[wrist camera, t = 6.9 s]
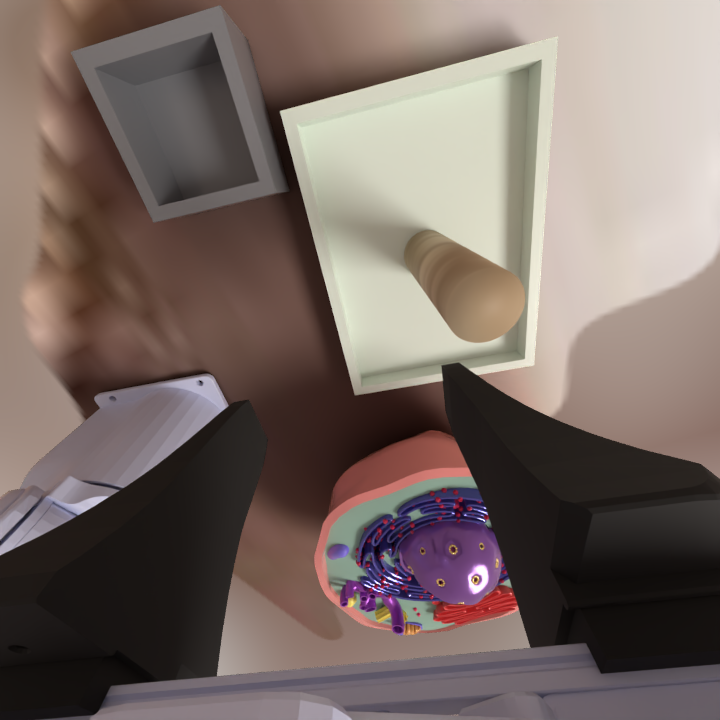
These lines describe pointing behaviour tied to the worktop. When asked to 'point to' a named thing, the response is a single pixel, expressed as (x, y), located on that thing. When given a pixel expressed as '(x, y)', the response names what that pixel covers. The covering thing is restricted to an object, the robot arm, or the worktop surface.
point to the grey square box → (186, 114)
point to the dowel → (465, 287)
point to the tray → (427, 204)
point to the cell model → (412, 541)
